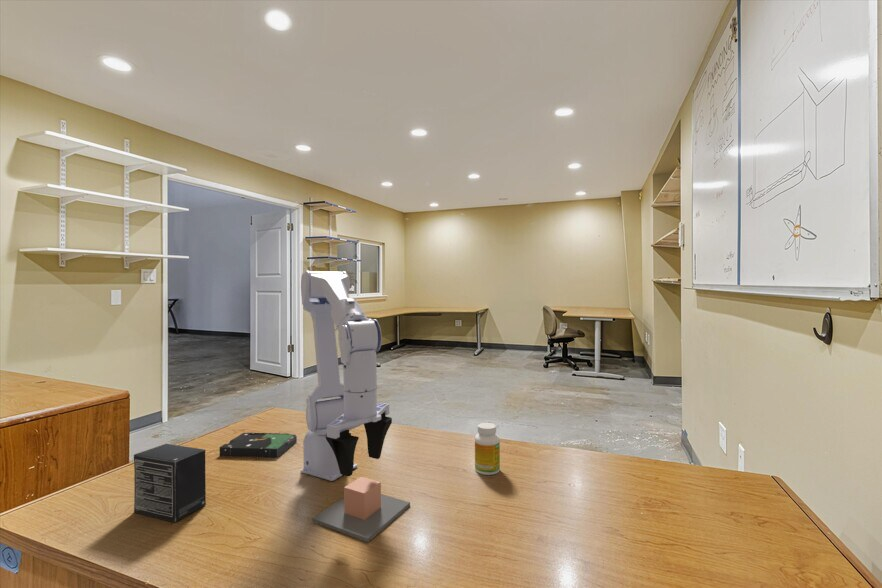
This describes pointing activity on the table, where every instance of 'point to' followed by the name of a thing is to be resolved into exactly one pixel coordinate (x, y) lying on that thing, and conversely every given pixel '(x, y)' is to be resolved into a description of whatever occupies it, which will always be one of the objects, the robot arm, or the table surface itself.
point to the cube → (362, 497)
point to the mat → (359, 527)
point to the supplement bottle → (487, 450)
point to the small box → (169, 481)
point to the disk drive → (258, 445)
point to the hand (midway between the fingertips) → (361, 465)
